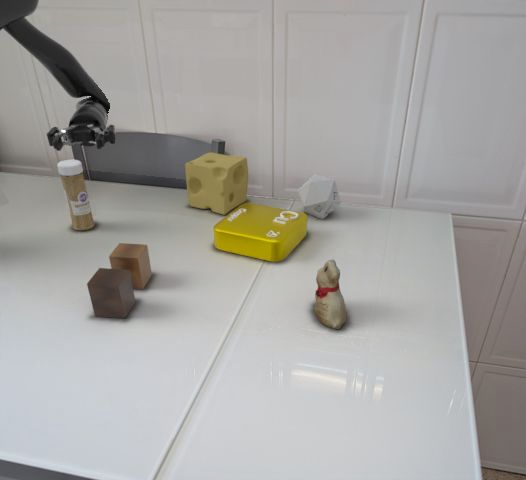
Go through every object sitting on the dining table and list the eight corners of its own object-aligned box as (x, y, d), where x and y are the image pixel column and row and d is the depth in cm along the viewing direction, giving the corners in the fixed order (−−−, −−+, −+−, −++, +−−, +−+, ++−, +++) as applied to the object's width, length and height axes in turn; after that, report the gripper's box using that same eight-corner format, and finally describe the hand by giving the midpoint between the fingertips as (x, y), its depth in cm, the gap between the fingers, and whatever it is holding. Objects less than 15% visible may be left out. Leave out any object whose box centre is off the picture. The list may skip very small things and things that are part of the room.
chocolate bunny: (349, 303, 82) (356, 248, 76) (343, 330, 76) (350, 273, 70) (316, 299, 83) (320, 244, 77) (307, 325, 77) (311, 268, 71)
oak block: (115, 287, 86) (108, 256, 82) (125, 273, 90) (119, 242, 86) (143, 289, 85) (137, 258, 82) (152, 275, 89) (147, 244, 85)
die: (302, 226, 107) (333, 193, 101) (283, 195, 109) (312, 160, 103) (325, 228, 113) (356, 197, 107) (306, 199, 116) (335, 166, 109)
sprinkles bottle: (86, 232, 103) (71, 167, 95) (68, 229, 104) (51, 164, 96) (99, 224, 106) (85, 160, 98) (81, 220, 108) (66, 157, 99)
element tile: (245, 220, 108) (244, 198, 105) (309, 232, 103) (310, 210, 100) (210, 248, 97) (209, 225, 94) (280, 264, 92) (281, 240, 89)
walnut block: (94, 316, 79) (86, 283, 75) (106, 299, 83) (99, 267, 79) (125, 318, 78) (118, 286, 75) (135, 301, 82) (129, 269, 78)
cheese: (225, 216, 110) (222, 170, 103) (185, 206, 114) (181, 162, 108) (249, 200, 117) (248, 157, 111) (211, 192, 121) (208, 149, 115)
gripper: (53, 108, 115) (38, 127, 102) (116, 106, 116) (108, 125, 104) (61, 142, 120) (48, 164, 107) (121, 140, 121) (115, 161, 109)
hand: (77, 145), depth 106 cm, fingers open, 8 cm apart
